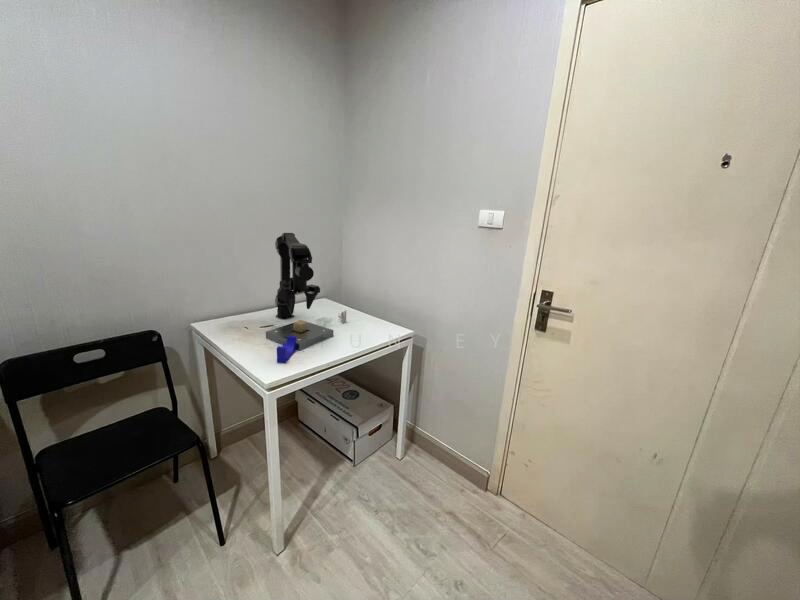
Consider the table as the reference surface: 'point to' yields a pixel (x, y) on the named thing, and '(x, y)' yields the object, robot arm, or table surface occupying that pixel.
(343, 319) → the architectural model
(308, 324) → the grey square mounting plate
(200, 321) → the table surface
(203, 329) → the table surface
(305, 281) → the robot arm
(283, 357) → the blue u-shaped bracket
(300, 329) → the tan wooden block
